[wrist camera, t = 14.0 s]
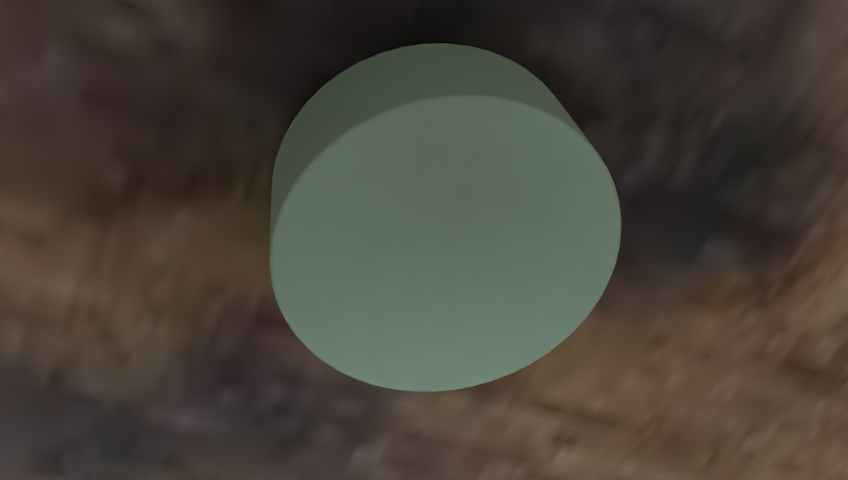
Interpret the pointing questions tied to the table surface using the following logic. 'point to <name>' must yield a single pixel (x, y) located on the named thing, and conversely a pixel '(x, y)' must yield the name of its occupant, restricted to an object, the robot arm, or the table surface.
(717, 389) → the table surface
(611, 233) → the lid
